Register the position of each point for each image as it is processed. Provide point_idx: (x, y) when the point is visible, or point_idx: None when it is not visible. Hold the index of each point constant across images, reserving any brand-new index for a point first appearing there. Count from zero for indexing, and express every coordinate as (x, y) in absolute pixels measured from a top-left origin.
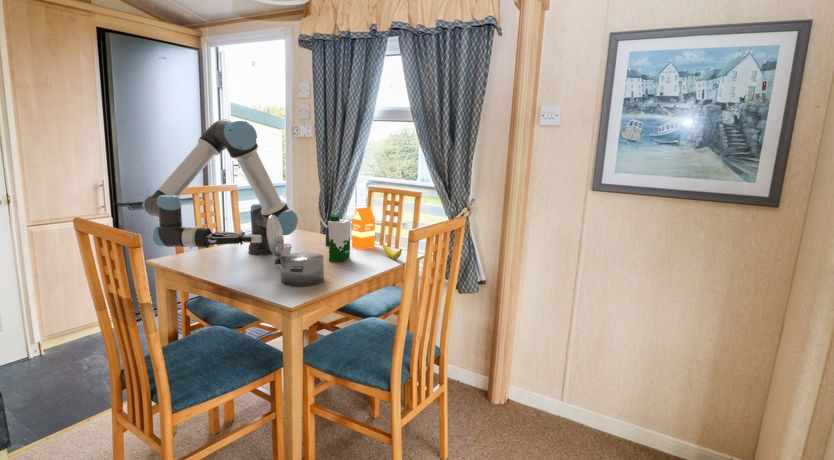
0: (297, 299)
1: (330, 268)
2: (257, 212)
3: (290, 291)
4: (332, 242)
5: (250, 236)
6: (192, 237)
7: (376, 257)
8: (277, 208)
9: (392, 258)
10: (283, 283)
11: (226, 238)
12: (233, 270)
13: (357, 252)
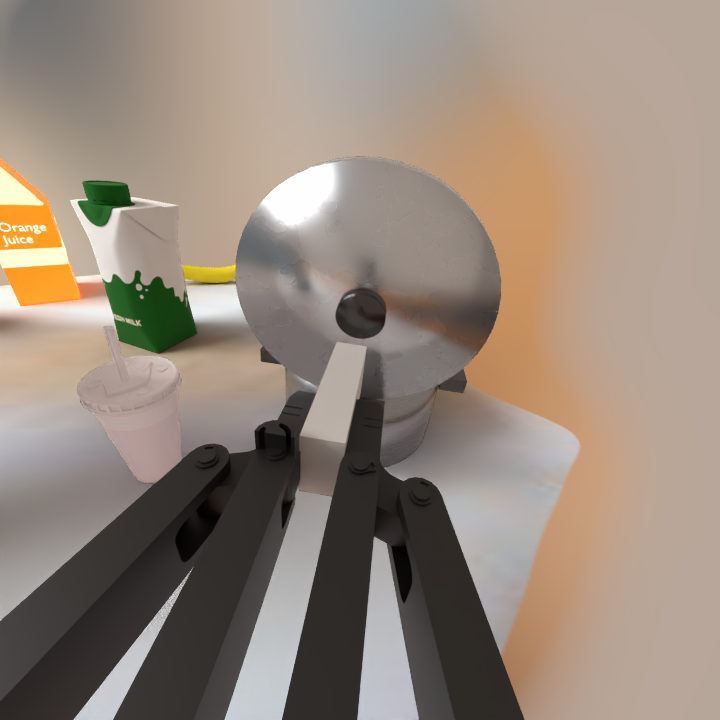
0: (528, 425)
1: (247, 357)
2: None
3: (469, 441)
4: (161, 287)
5: (355, 397)
6: None
7: (189, 294)
8: None
9: (224, 281)
10: (401, 458)
11: (497, 664)
12: None
13: (108, 307)
